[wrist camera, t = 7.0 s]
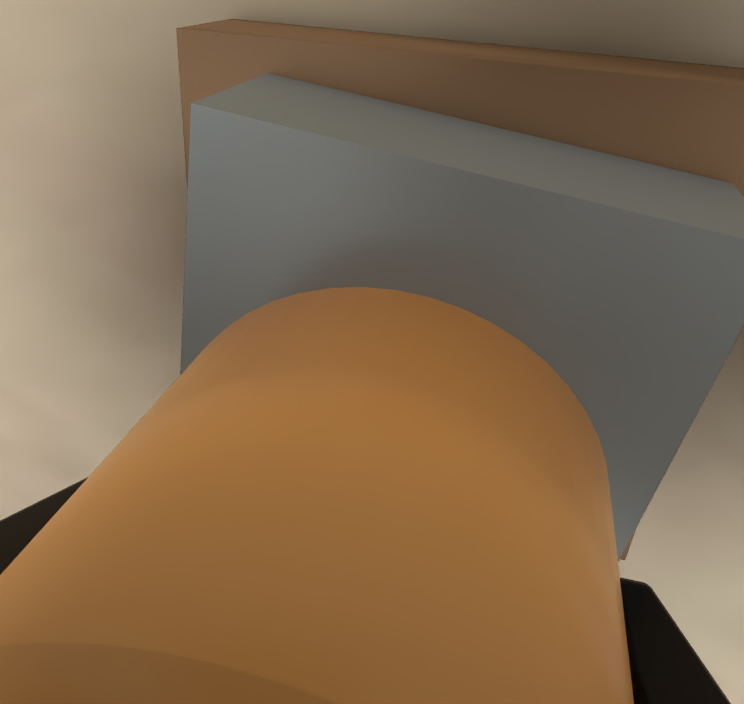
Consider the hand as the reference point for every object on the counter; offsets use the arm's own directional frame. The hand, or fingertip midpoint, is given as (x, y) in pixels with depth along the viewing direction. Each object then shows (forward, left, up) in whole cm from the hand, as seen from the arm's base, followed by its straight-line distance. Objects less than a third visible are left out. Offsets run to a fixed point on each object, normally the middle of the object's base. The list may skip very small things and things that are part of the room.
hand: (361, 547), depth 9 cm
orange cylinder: (0, 0, -1) cm, 1 cm away
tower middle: (0, 0, -6) cm, 6 cm away
